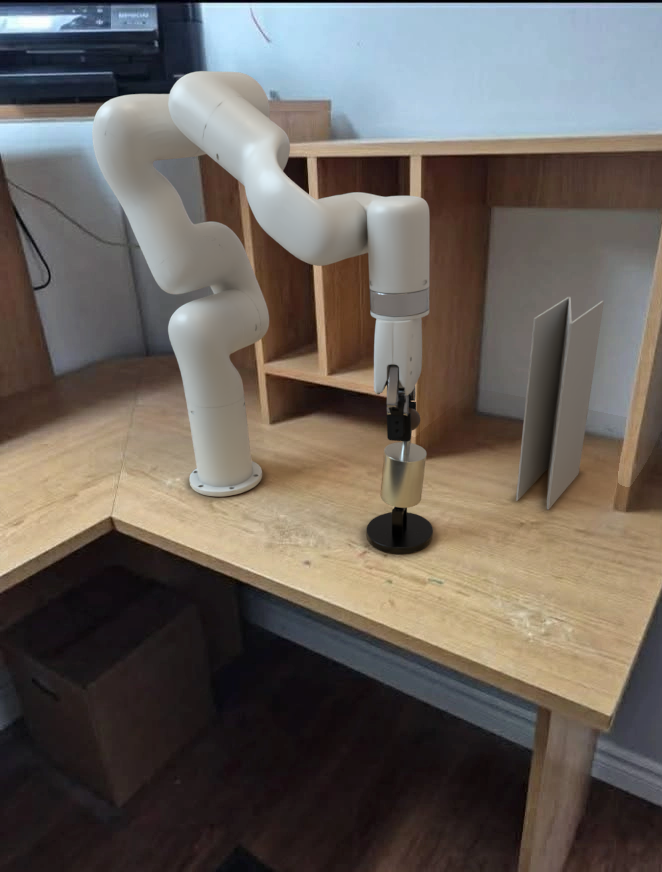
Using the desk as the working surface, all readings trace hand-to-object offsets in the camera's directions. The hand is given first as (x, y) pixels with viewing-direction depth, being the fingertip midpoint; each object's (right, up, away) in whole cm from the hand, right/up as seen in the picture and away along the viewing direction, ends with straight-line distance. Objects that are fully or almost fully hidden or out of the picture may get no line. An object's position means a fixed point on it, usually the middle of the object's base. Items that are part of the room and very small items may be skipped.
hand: (402, 432), depth 96 cm
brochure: (+26, -8, +20) cm, 34 cm away
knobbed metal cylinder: (+3, -5, +2) cm, 6 cm away
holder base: (0, -15, +8) cm, 17 cm away
